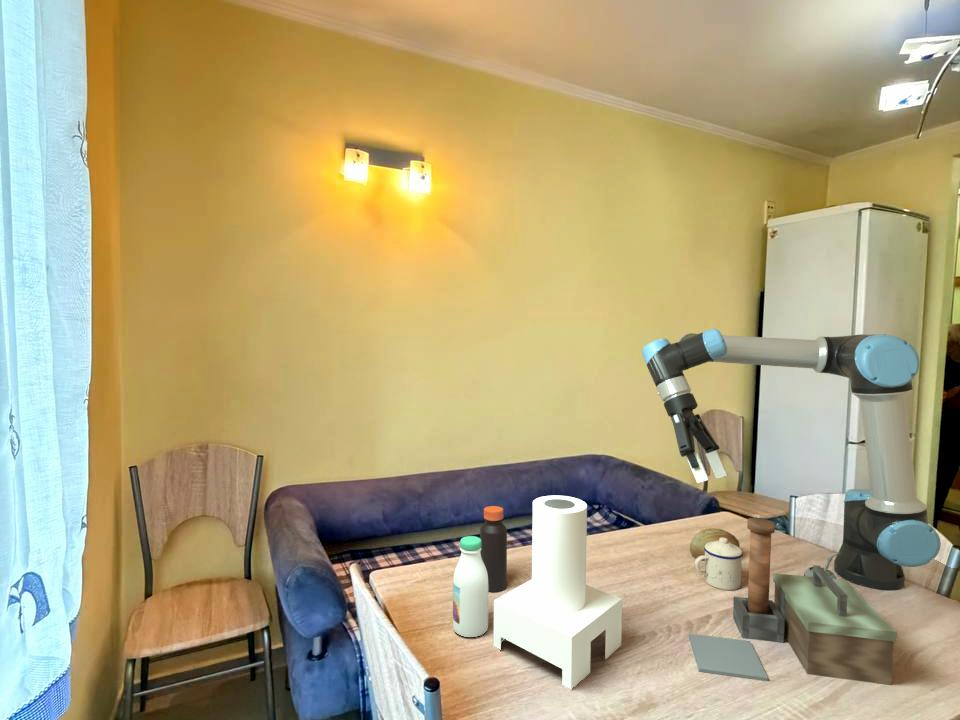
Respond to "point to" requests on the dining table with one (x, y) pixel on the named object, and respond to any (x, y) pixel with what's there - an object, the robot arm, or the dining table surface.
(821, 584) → the toolbox
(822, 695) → the dining table surface
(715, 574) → the teacup with lid
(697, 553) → the bread roll
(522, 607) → the paper towel holder
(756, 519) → the wooden pepper mill
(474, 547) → the milk bottle
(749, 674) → the rubber mat
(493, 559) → the vinegar
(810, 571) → the mate gourd
